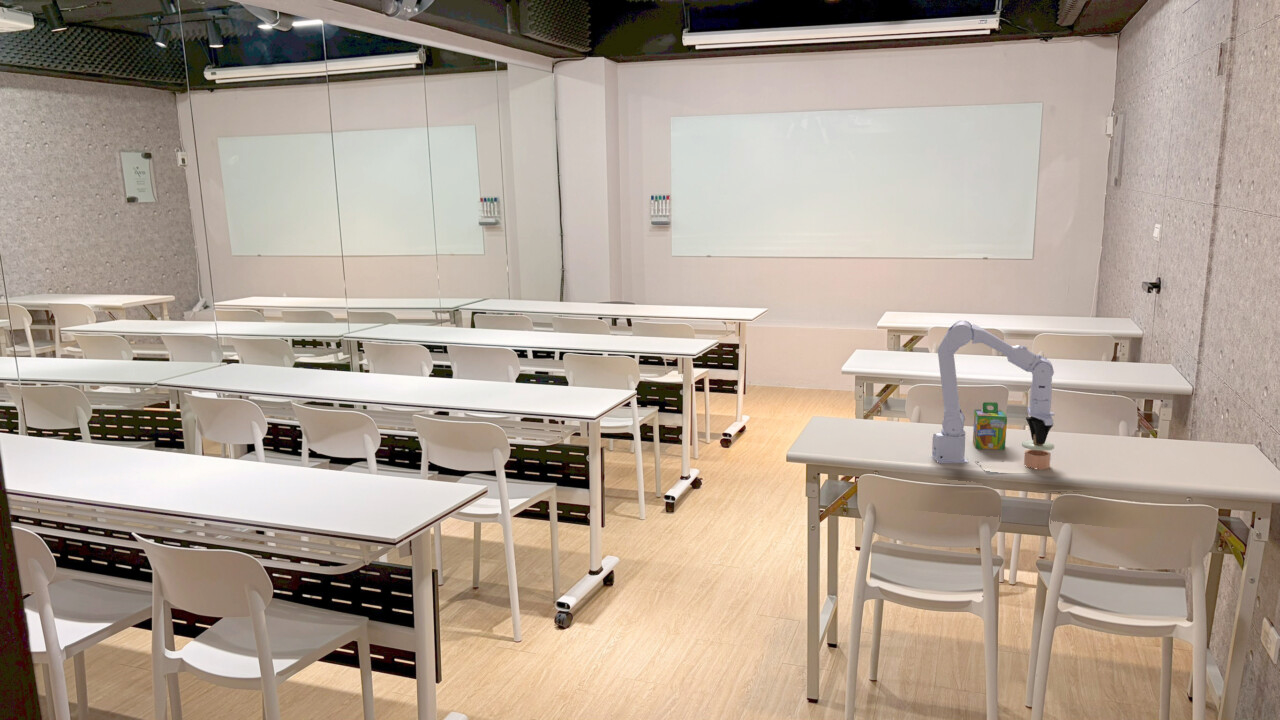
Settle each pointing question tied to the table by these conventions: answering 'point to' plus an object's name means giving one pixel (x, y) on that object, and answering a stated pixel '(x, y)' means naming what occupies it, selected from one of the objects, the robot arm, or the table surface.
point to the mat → (991, 472)
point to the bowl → (1037, 459)
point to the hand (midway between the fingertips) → (1038, 442)
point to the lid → (1037, 445)
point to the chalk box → (989, 428)
